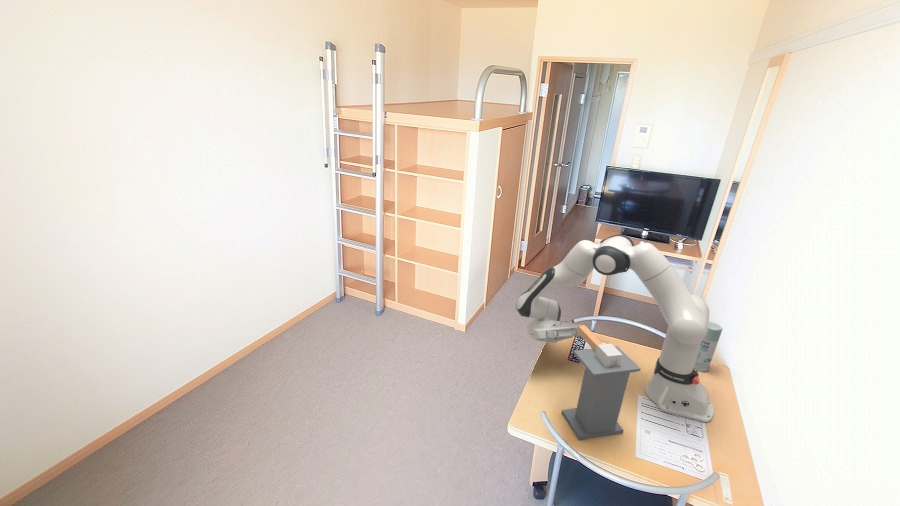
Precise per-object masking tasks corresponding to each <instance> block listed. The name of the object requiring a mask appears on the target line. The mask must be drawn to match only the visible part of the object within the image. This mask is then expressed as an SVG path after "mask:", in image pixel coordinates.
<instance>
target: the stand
mask: <svg viewBox="0 0 900 506" xmlns="http://www.w3.org/2000/svg"><path fill="white" fill-rule="evenodd" d="M613 346H614V347H615V348H616V349H617V350H618V351H619V352H620V353H621V354H622V359H621V363H620V366H612V367H605V366H604V365H603V364H602V363H601V362H600V361H599V359H598V358H597V357H596V356H595V353H596V352H595V351H594V350H593V349H592V348H585V349H576V350H573V352H572V353H573V354H574V356H575V357H576V358H577V359H578V361H579V362H580V363H581V364H582V366H583V367H584V371H583V377H582V382H581V386H580V392H579V396H578V401H577V404H576V405H577V406H576V407H575V408H566V409H562V410H561V415H562V417H563V418H564V420H565V421H566V423H567V425H568V426H569V427H570V429H571V430H572V432H573V434H574V435H575V437H576V438H577V440H578V441H584V440H585V441H586V440H590V439H599V438H603V437H604V438H605V437H611V436H615V435H622V434H624V428H623V427H622V426H621V425H620V424H619V422H618V419H619V416H620V412H621V409H622V404H623V400H624V396H625V393H626V389H627V385H628V382H629V377H630V374H631V373H637V372H639V373H640V372H641V367H640V366H638V365H637V363H635V362H634V361H633V360H632V359H631V358H630V356H628V355H627V353H626V352H625V351H623V350H622V349H621V348H620V347H619V346H618V345H613Z"/></svg>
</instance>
